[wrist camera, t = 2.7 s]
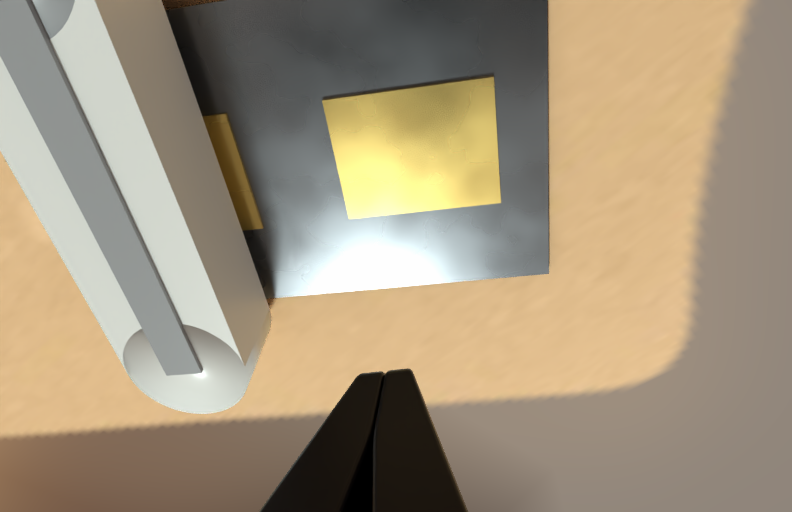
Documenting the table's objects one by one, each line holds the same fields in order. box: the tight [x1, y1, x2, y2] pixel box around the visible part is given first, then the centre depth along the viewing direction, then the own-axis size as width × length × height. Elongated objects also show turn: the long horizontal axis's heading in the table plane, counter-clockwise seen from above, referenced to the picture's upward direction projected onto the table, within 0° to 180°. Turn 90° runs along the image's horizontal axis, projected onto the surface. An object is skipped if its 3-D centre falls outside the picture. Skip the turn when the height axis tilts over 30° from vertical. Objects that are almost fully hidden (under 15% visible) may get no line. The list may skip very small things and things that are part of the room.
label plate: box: [165, 0, 549, 299], centre depth 16 cm, size 16×14×1 cm
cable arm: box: [0, 0, 271, 414], centre depth 16 cm, size 4×16×3 cm, turn 9°
